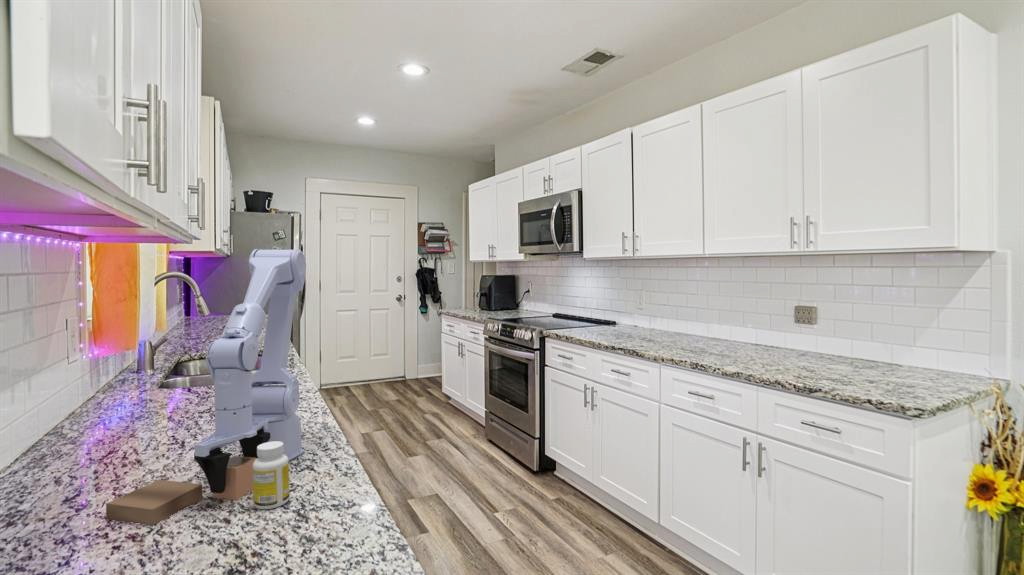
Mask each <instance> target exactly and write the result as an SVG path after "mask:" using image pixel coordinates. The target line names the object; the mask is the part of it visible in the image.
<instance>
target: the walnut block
mask: <svg viewBox="0 0 1024 575" xmlns="http://www.w3.org/2000/svg"><path fill="white" fill-rule="evenodd" d="M202 500H203V484H202V483H201V484H200V483H194V482H193V483H192V482H182V481H176V480H175V481H174V480H166V479H158V480H156V481H153V482H151V483H148V484H147V485H144V486H142V487H139V488H138V489H135V490H133V491H131V492H129V493H126V494H124V495H122V496H119V497H118V498H115V499H114V500H110V501H108V502H106V503H105V513H106V514H105V515H106V520H107V519H109V520H108V521H112V520H115V521H114V522H119V521H124V522H123V523H126V522H133V523H132V524H134V523H140V524H139V525H141V524H146V525H145V526H148V525H150V526H149V527H154V526H156V525H157V523H158V524H159V522H160V521H162V520H163V521H165V520H167V519H168V518H167V517H169V516H171V515H173V514H175V513H176V514H178V513H179V512H178V511H180V510H182V511H184V510H185V509H184V508H186V507H188V506H189V507H191V506H193V505H195V504H197V503H199V502H200V501H202ZM196 502H197V503H196ZM190 505H191V506H190ZM189 507H188V508H189ZM183 509H184V510H183ZM186 509H187V508H186ZM177 512H178V513H177ZM180 512H181V511H180ZM176 514H175V515H176ZM173 516H174V515H173ZM171 517H172V516H171ZM166 518H167V519H166ZM169 518H170V517H169ZM164 519H165V520H164ZM163 521H162V522H163ZM160 523H161V522H160ZM155 524H156V525H155ZM153 525H154V526H153Z"/></svg>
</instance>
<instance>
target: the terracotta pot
mask: <svg viewBox="0 0 1024 575" xmlns="http://www.w3.org/2000/svg"><path fill="white" fill-rule="evenodd" d="M256 459H257V458H252V457H243V455H242V456H240V455H232V456H230V458H229V461H228V465H227V470H226V485H225V491H224V492H223V493H212V498H216V499H224V500H225V499H226V500H234V501H238V500H240V499H241V498H243V497H244V496H246V495H247V494H249V493H251V492H254V491H253V463H254V461H255V460H256Z"/></svg>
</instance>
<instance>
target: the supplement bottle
mask: <svg viewBox="0 0 1024 575" xmlns="http://www.w3.org/2000/svg"><path fill="white" fill-rule="evenodd" d="M283 450H284V447H283V442H280V441H272V442H266V443H263V444H260V445H259V446H258V447H257V456H258V457H259V458H257V459H256V460H255V461H254V463H253V491H252V492H253V505H254V507H255V508H256V509H259V510H271V509H275V508H278V507H280V506H282V505H286V503H287V502H288V501H289V500H290V469H289V468H290V467H289V466H290V465H289V463H290V462H289V461H288V457H287V456H286V455H284V454H282V453H283Z"/></svg>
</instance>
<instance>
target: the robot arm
mask: <svg viewBox="0 0 1024 575" xmlns="http://www.w3.org/2000/svg"><path fill="white" fill-rule="evenodd" d="M248 268H249V273H250V276H251V277H250V281H249V284H248V286H247V290H246V293H245V297H244V300H243V303H239V304H237V305H235V306H234V308H233V309H232V311H231V314H230V316H229V318H228V320H227V322H226V325H225V326H224V329H223V331H222V334H221V335H220V337H218V338H216V339H215V340H214V341H212V342H211V343H210V344H209V345H208V348H207V351H206V356H205V363H206V366H207V369H208V370H209V373H210V374H209V379H211V380H210V381H211V382H213V385H214V386H213V387H214V388H213V392H214V394H213V395H214V430H215V431H214V432H213V433H211V434H210V435H208V436H207V437H206V438H204V439H202V440H201V441H199V442H197V443H195V444H194V452H193V459H194V460H195V462H196V463H197V464H198V465H199V467H200V468H201V469H202V471H203V472H202V473H204V475H205V478H206V480H207V483H208V486H209V489H210V493H212V494H213V493H223V492H224V491H225V485H226V470H227V465H228V461H229V458H230V457H232V453H230V452H223V450H221V449H222V448H225V447H227V446H229V445H231V444H234V443H236V442H239V444H240V447H241V452H242V453H241V454H242V457H252V458H259V457H258V456H257V447H258V446H259V445H260V444H263V443H266V442H272V441H280V442H283V447H284V450H283V453H282V454H284V455H286V456H287V457H288V462H289V461H291V460H293V459H295V458H297V457H299V456H300V455H302V454H304V453H305V452H306V450H305V449H302V422H301V420H300V418H299V416H298V415H297V413H296V412H297V410H298V409H299V405H300V388H299V387H300V382H299V379H298V378H297V376H295V375H294V374H293V373H291V372H290V371H289V370H288V360H289V352H290V344H291V337H292V327H293V322H294V321H293V319H294V311H295V304H296V299H297V298H296V297H297V294H298V293H299V292H301V291H302V290H304V284H305V282H306V281H305V279H306V272H307V263H306V258H305V255H304V253H303V252H302V250H301V249H300V248H294V249H261V248H255V249H253V250H252V252H251V253H250V255H249V258H248ZM268 300H269V306H268V312H267V314H266V312H265V310H264V308H265V306H266V304H267V303H268ZM265 322H266V327H265V334H264V342H263V347H262V348H263V349H262V355H261V356H262V357H261V361H260V362H261V363H260V368H259V369H258V370H257V371H255V372H254V373H253V374H252V372H253V371H252V370H253V369H254V367H255V366H256V364H257V362H258V359H259V347H260V341H259V337H260V334H261V332H262V329H263V328H264V325H265Z"/></svg>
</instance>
